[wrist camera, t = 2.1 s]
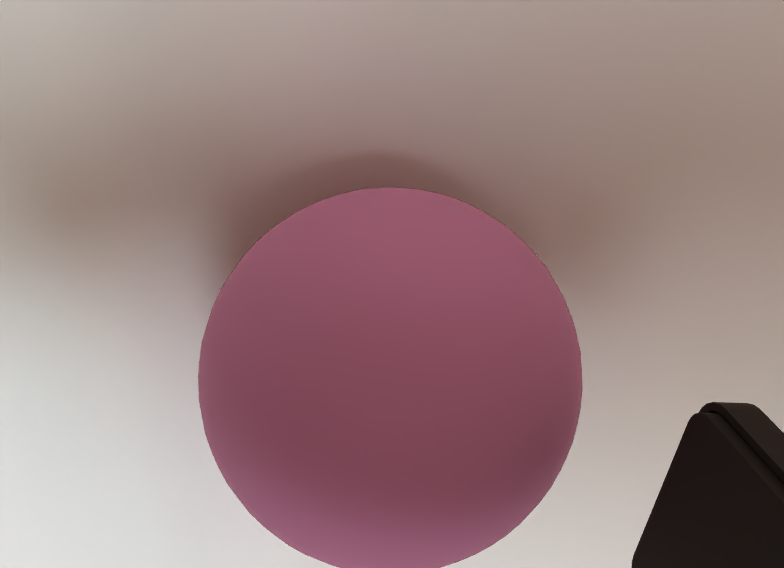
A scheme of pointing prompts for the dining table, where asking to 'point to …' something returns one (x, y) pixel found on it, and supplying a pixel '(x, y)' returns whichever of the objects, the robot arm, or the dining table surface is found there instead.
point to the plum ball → (390, 380)
